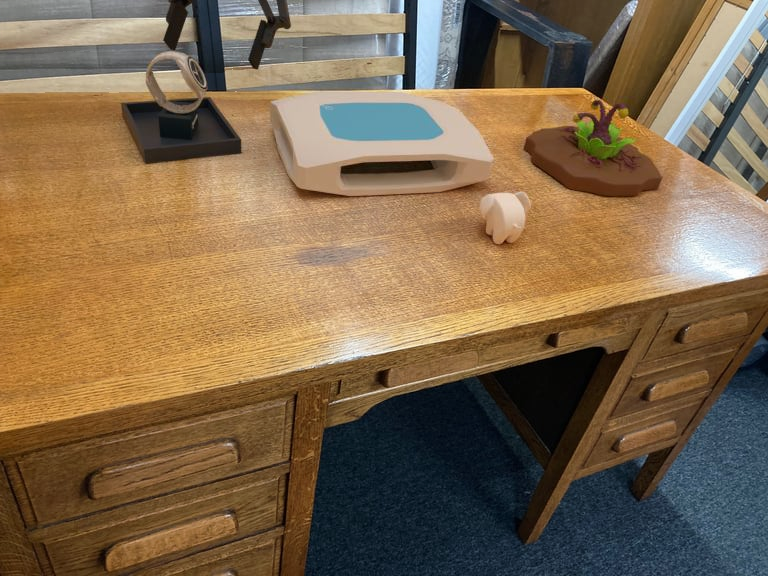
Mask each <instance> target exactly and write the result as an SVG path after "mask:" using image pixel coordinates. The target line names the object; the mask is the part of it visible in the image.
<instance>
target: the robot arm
mask: <svg viewBox="0 0 768 576" xmlns="http://www.w3.org/2000/svg"><path fill="white" fill-rule="evenodd" d="M167 2H168V3H169V8H168V9H167V13H166V16H165V21H166V23H167V24H168V25H167V28H166V31H165V33H164V36H163V39H162V41H163V42H164V44H166V46H167V47H168V48H169V50H170V51H176V49H177V46H178V43H179V40H180V37H181V34H182V31H183V29H184V26H185V23H186V20H187V17H188V14H189V11H188V10H187V9H186V8H187V7H188V6H190V5H192V4H193V3H194V2H197V0H167ZM257 2H258V3H259V5H260V7H261V8H260V9H261V10H262V12H263V14H264V17H265V19H266V20H267V21H266V20H264V19H260V22H259V24H258V26H257V27H258V28H257V31H256V34H255V37H254V39H253V43H252V46H251V49H250V52H249V54H248V55H249V56H248V58H247V61H248V62H249V65H250V66H251V67H252V69H253V70H256V71H258V70H259V68H260V66H261V65H260V64H261V61H262V58H263V56H264V52H265V49H269V50H270V48H271V47H272V46H273V42H274V39H275V36H276V34H277V31H278V30H279V29H284V30H289V29H291V27H292V23H291V17H290V12H289V11H290V10H289V6H288V0H276V4H277V12H278V15H274V12H273V10H272V8H271V6H270V4H269V2H268V0H257Z"/></svg>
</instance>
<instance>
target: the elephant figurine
mask: <svg viewBox="0 0 768 576" xmlns="http://www.w3.org/2000/svg"><path fill="white" fill-rule="evenodd" d="M531 208H532V203H531V200H530V198H529V196H528V194H526V192H524V191H522V190H521V191H517V192H516V193H511V192H494V193H487V194H486V195H484V196H483V197H482V198H481V199H480V202H479V207H478V209H479V213H480V216H481V217H482V219H485V218H486V224H485V225H486V226H485V233H486V235H488V236H492V241H493V243H494V244H495V245H501V244H503V243H504V241H506V242H507V243H508V244H513V243H515V242H516V241H517V240H518V239H519V237H520V236H521V234H522V233H523V231H524V228H525V226H526V225H525V224H526V215H527V214H528V213H529V212H530V211H531Z"/></svg>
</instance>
